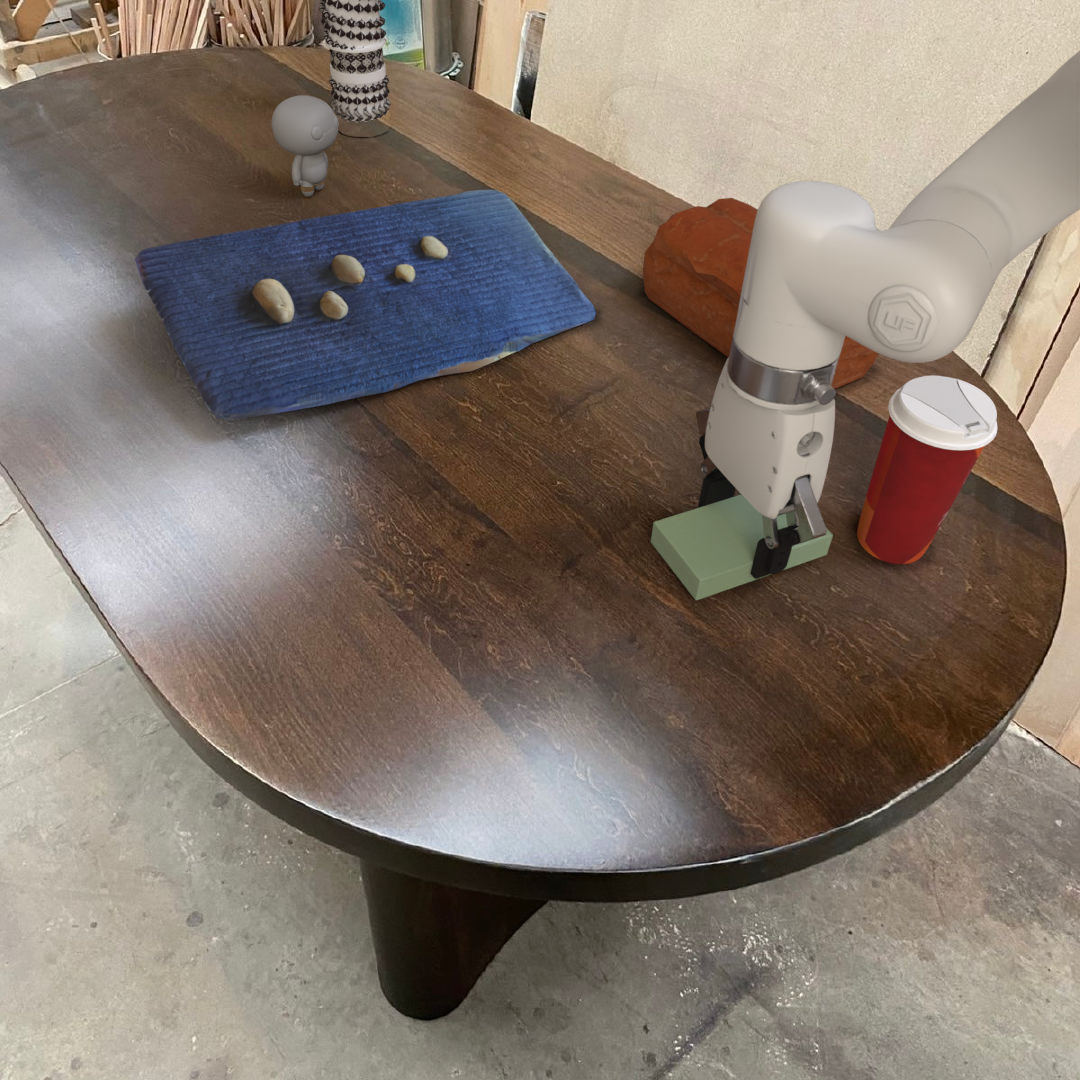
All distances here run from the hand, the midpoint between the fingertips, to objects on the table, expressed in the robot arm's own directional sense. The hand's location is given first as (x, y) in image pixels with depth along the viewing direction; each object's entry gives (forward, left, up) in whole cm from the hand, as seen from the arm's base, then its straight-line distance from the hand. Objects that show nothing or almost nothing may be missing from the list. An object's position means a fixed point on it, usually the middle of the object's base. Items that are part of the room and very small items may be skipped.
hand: (740, 539), depth 81 cm
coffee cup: (-14, +4, -2) cm, 14 cm away
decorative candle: (+2, -98, -2) cm, 98 cm away
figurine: (+15, -79, -2) cm, 81 cm away
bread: (-22, -30, -2) cm, 37 cm away
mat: (+17, -47, -2) cm, 50 cm away
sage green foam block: (0, 0, -1) cm, 1 cm away
